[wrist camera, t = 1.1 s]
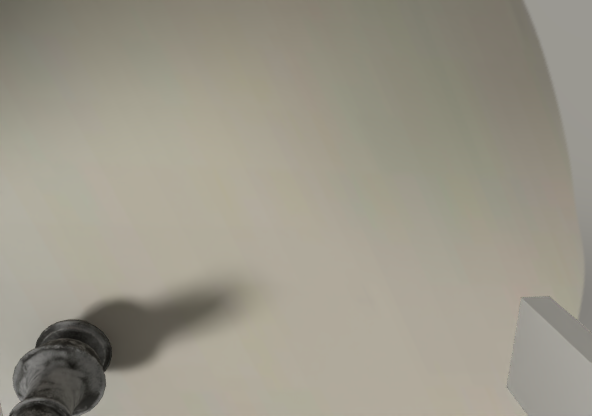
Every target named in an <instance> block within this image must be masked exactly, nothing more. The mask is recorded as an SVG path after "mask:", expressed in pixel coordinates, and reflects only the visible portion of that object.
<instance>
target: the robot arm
mask: <svg viewBox="0 0 592 416" xmlns="http://www.w3.org/2000/svg"><path fill="white" fill-rule="evenodd" d="M507 388H508V390H509V391H510V392H511V394H512V395H513V396H514V398H515V399H516V400H517V402H518V403H519V404H520V406H521V407H522V408H523V410H524V411H525V412H526V414H527V415H528V416H592V332H591V331H589V330H588V329H587V328H586V327H585V326H584V325H582V324H581V323H580V322H579V321H578V320H577V319H575V318H574V317H573V316H572V315H571V314H570V313H568V312H567V311H566V310H565V309H564V308H562V307H561V306H560V305H559V304H558V303H557V302H555V301H554V300H553V299H552V298H551V297H550V296H543V297H521V303H520V309H519V315H518V321H517V327H516V333H515V339H514V345H513V351H512V357H511V363H510V369H509V375H508V381H507ZM0 416H3V414H2V409H1V404H0Z"/></svg>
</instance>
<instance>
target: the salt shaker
mask: <svg viewBox="0 0 592 416" xmlns="http://www.w3.org/2000/svg"><path fill="white" fill-rule="evenodd" d="M111 356H112V354H111V346H110V343H109V340H108V339H107V337H106V336H105V334H104V333H103V332H102V331H101V330H99V329H98V328H97V327H95V326H93V325H91V324H89V323H87V322H83V321H78V320H66V321H61V322H57V323H55V324H53V325H51V326H49V327H48V328H47V329H46V330H44V331H43V332H42V333H41V335H40V337H39V338H38V340H37V343H36V347H35V349H33V350H31V351H29V352H28V353H27V354H25V355H24V356H23V357H22V358H21V359H20V361H19V362H18V364H17V366H16V367H15V370H14V374H13V386H14V390H15V392H16V394H17V397H18V398H19V399H20V400H21V402H19V403H18V404H17V405H16V406H15V407H14V408H13V409H12V411H11V413H10V415H9V416H80V415H82V414H84V413H86V412H88V411H90V410H91V409H92V408H94V407H95V406H96V405H97V404H98V402H99V401H100V399H101V398H102V396H103V394H104V390H105V387H106V379H105V374H104V372H105V370H106V369H107V367H108V365H109V363H110V360H111Z"/></svg>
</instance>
